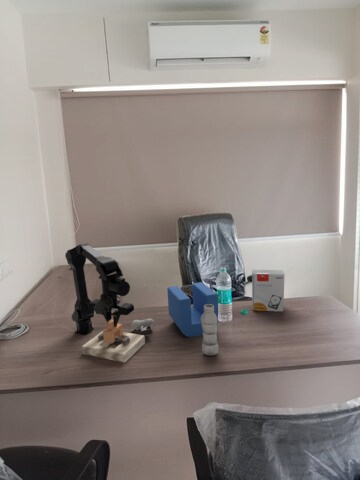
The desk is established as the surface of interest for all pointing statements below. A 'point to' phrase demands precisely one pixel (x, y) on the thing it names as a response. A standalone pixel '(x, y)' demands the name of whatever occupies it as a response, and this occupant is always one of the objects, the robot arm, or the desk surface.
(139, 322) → the clip-on lamp
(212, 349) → the plastic bottle
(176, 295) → the block
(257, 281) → the hard drive box
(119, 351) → the beige square frame
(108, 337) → the wooden cross piece
